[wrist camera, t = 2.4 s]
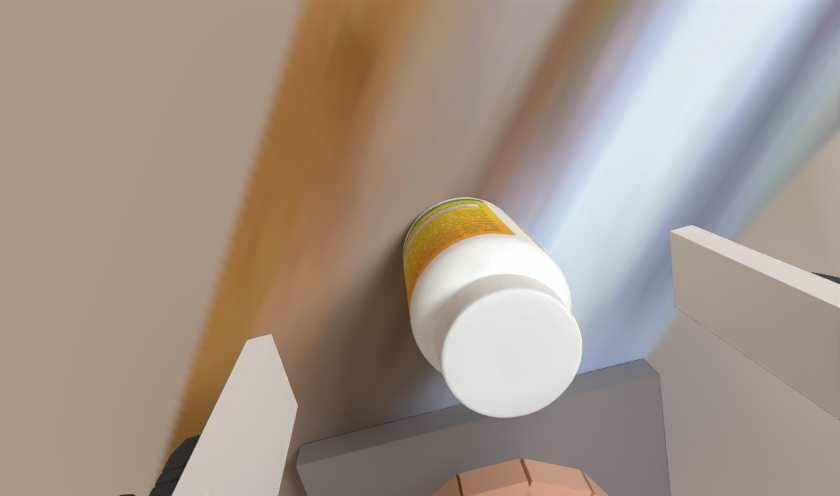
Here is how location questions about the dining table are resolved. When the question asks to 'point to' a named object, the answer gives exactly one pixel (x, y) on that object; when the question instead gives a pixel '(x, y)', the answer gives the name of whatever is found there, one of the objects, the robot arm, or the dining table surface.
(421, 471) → the coaster stand
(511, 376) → the supplement bottle
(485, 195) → the dining table surface
